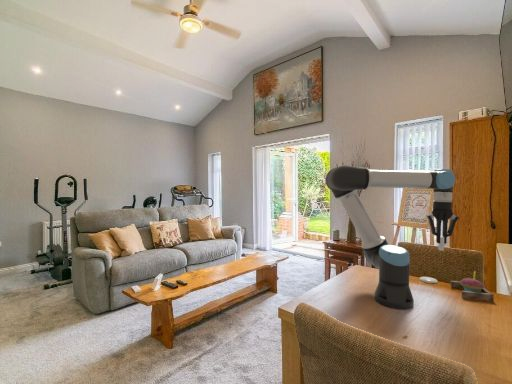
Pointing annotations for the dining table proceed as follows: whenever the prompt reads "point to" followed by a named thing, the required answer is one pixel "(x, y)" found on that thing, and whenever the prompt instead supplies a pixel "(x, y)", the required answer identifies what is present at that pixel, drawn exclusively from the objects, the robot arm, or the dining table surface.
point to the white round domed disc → (428, 280)
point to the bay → (474, 293)
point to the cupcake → (472, 284)
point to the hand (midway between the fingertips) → (441, 250)
